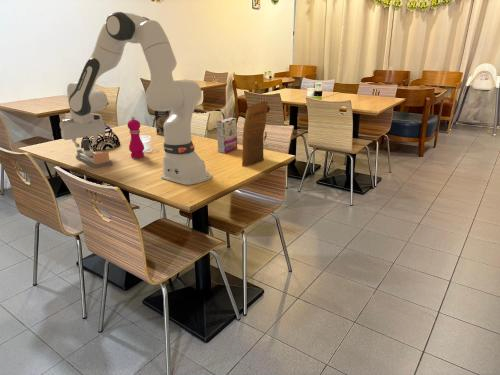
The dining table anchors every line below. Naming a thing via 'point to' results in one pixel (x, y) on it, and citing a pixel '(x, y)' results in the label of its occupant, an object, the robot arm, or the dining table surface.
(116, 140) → the decorative bowl
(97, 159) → the rail board
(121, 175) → the dining table surface
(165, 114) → the coffee box
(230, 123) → the candy bar box
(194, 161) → the robot arm
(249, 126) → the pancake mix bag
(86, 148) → the keeper
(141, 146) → the pepper mill
